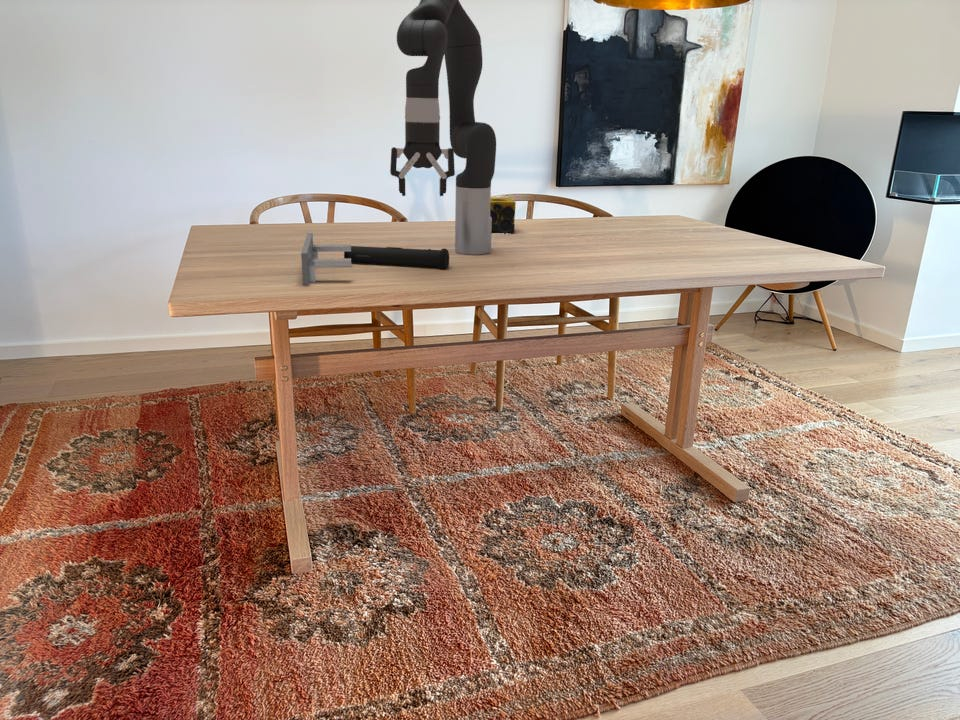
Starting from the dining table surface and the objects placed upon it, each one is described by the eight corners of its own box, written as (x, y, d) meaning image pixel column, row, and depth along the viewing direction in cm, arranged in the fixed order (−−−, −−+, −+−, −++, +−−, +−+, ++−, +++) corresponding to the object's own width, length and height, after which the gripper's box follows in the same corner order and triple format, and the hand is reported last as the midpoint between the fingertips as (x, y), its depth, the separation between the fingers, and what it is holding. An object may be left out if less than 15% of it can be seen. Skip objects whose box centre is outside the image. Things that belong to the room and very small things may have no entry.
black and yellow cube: (478, 228, 233) (479, 197, 230) (510, 228, 234) (511, 197, 231) (482, 234, 224) (483, 201, 220) (514, 234, 225) (516, 201, 221)
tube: (449, 269, 179) (450, 246, 177) (445, 274, 174) (445, 251, 172) (351, 264, 182) (350, 241, 180) (344, 268, 177) (343, 246, 175)
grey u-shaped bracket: (351, 267, 176) (350, 244, 174) (352, 286, 159) (351, 260, 157) (313, 268, 175) (312, 244, 173) (309, 287, 158) (308, 261, 156)
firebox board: (315, 265, 178) (313, 233, 175) (310, 290, 155) (308, 253, 153) (309, 265, 177) (307, 233, 175) (303, 290, 155) (301, 253, 152)
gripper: (452, 120, 164) (452, 193, 169) (389, 119, 162) (390, 193, 167) (456, 121, 157) (455, 198, 162) (390, 120, 155) (391, 197, 160)
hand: (422, 195), depth 165 cm, fingers open, 8 cm apart
